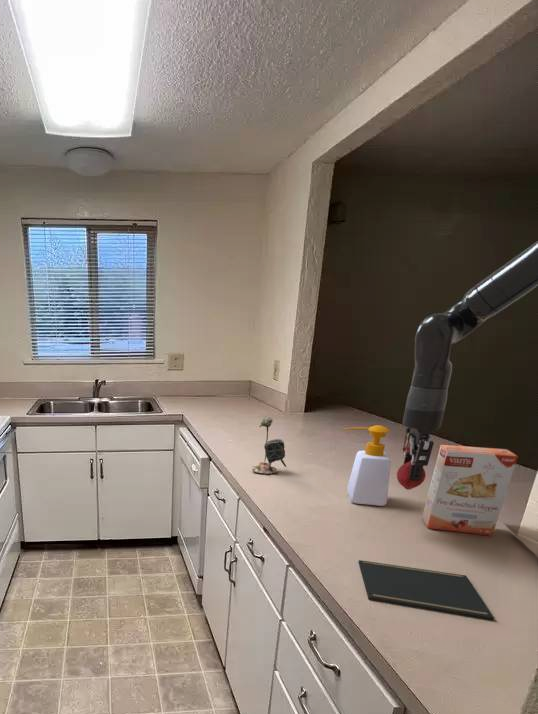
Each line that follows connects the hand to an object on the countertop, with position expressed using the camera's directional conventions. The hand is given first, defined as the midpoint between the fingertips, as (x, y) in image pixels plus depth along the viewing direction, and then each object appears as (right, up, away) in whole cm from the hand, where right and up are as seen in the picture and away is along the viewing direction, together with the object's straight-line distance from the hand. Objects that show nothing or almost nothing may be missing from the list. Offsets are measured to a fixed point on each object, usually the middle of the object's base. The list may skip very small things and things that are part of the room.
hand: (410, 475), depth 104 cm
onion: (0, -4, +1) cm, 4 cm away
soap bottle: (-1, -7, +23) cm, 25 cm away
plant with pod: (-20, +1, +46) cm, 51 cm away
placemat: (-10, -23, -18) cm, 31 cm away
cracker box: (+15, -14, +5) cm, 21 cm away
